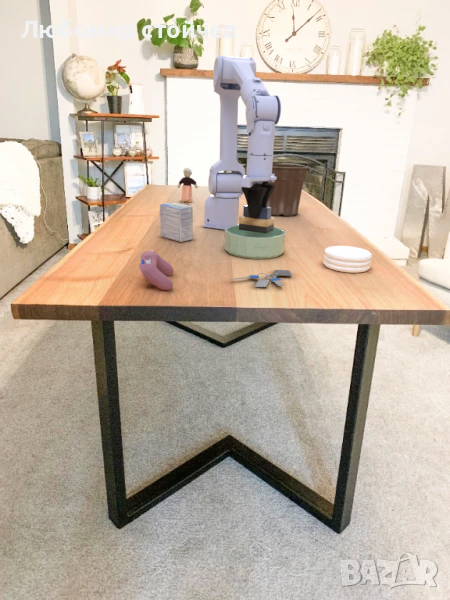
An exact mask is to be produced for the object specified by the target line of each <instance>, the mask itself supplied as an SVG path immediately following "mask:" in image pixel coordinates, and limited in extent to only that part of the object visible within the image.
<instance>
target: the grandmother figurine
mask: <svg viewBox="0 0 450 600" xmlns="http://www.w3.org/2000/svg"><path fill="white" fill-rule="evenodd" d="M182 172H183V176H184V177H182V178H181V179H180V180H179V182H178V184H177V188H178V189H179V188H180V189H181V199H180V200H179V202H180V203H190V204H191V203H192V202H193V201H192V200H193V199H192V198H193V187H192V185H193V186H194V189H198V188H199V186H198V184H197V181H196V180H195V179H194V178H192V177H191V176H192V175H193V171H192V169H190V168H189V167H185V168H184V169H183V171H182Z"/></svg>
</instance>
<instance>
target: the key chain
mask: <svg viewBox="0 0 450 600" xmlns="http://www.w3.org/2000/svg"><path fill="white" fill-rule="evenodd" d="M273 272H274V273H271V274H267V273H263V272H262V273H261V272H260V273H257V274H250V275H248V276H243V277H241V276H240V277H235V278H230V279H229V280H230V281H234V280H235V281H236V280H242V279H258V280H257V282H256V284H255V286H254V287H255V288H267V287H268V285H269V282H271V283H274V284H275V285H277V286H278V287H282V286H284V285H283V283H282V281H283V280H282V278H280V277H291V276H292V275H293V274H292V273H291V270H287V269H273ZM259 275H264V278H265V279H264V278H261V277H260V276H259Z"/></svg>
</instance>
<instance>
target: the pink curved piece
mask: <svg viewBox="0 0 450 600" xmlns="http://www.w3.org/2000/svg"><path fill="white" fill-rule="evenodd" d="M138 266H139V270H140V272H141V274H142V276H143V278H144V279H145V280H146V281H147V282H148V283H149V284H150V285H151V286H154V287H157V288H158V289H159V290H162V291H171V289H173V281H172V280H171V279H170V276H172V275H173V274H174V272H175V271H174V267H173V266H172V265H171V264H170V263H169V262H168V261H167V260H165V259H163V258H162V257H161V256H160V254H158V252H155V251H154V249H152V250H147V251H145V252H142V253H141V254H140V263H139V264H138Z"/></svg>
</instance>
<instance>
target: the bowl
mask: <svg viewBox="0 0 450 600" xmlns="http://www.w3.org/2000/svg"><path fill="white" fill-rule="evenodd" d="M286 235H287V232H286V230H284V229H282V228H280V227H277V226H274V230H273V231H271V232H269V233H266V234H265V233H258V232H251V231H244V230H239V225H234V226H230V227H227V228H226V229H225V230H224V241H223V242H224V243H223V248H224V250H225V251H226V252H227V253H228V254H229V255H232V256H235V257H237V258H241V259H242V258H243V259H250V260H267V259H274V258H278V257H280V256H281V255H282V254H284V253H285V245H286Z"/></svg>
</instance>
